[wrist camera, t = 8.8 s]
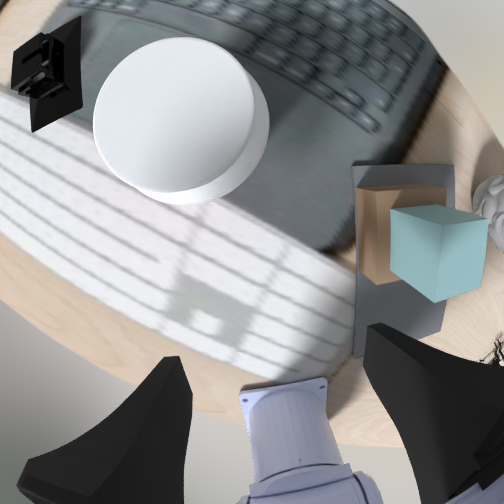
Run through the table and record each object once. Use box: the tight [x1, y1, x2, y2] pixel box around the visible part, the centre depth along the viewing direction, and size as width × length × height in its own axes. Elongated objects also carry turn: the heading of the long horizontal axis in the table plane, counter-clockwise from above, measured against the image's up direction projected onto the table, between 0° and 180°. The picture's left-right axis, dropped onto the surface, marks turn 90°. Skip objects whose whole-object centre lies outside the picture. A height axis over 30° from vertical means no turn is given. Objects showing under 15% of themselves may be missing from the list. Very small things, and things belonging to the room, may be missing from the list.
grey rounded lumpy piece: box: [472, 175, 504, 253], centre depth 16 cm, size 6×7×7 cm
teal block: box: [390, 204, 489, 303], centre depth 14 cm, size 4×4×5 cm
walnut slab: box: [356, 184, 446, 285], centre depth 17 cm, size 6×6×3 cm
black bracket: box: [11, 16, 83, 133], centre depth 12 cm, size 12×7×5 cm, turn 11°
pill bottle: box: [93, 37, 270, 205], centre depth 12 cm, size 6×6×11 cm
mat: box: [351, 164, 455, 359], centre depth 20 cm, size 16×10×1 cm, turn 7°
